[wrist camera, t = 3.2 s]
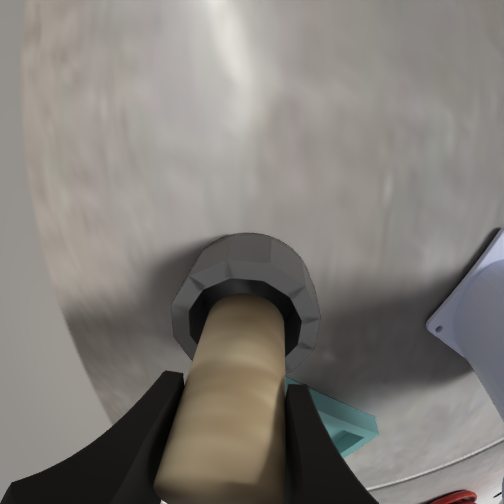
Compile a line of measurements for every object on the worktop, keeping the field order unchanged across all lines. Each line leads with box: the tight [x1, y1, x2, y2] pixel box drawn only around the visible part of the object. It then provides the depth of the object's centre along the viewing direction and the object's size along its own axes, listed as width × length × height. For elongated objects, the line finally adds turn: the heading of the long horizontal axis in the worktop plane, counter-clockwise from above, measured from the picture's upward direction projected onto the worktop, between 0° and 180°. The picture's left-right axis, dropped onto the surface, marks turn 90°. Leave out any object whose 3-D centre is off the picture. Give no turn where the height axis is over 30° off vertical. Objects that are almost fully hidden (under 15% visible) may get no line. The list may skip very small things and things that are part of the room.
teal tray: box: [285, 376, 379, 458], centre depth 21 cm, size 12×12×2 cm
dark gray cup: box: [171, 233, 321, 374], centre depth 16 cm, size 7×7×4 cm
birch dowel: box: [153, 293, 286, 504], centre depth 10 cm, size 4×4×8 cm
